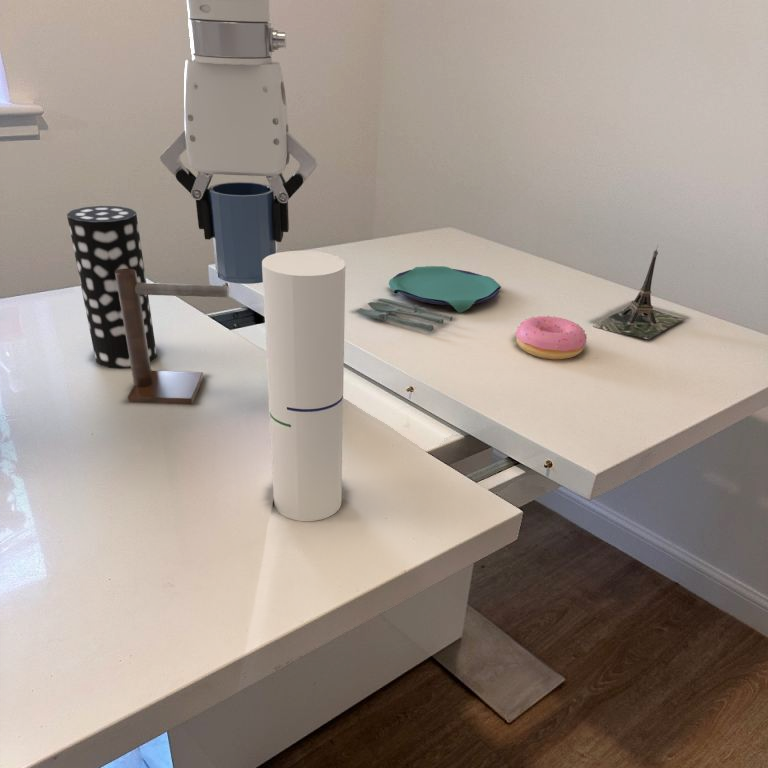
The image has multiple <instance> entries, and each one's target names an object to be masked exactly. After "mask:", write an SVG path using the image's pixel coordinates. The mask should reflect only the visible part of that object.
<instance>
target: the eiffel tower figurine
mask: <svg viewBox="0 0 768 768" xmlns="http://www.w3.org/2000/svg"><path fill="white" fill-rule="evenodd" d="M658 247H659V244H657V245H656V249H655V250H653V253H652V259H651V262H650V265H649V267H648V270H647V274H646V277H645V279H644V282H643V284H642V286H641V288H640V289H639V292H638V293H637V295H636V297H635V298H634V299H633V300H631V303H630V304H629V305H628V306H627V307H625V308H624V309H623V310H620V311H617V312H616V313H614V314H612V315H610V316H608V317H606V318H604V319H603V320H601V321H600V322H598V323H596V324H595V325H593V326H592V327H594V328H597V329H601V330H604V331H608V332H613V333H616V334H623V335H628V336H633V337H638V338H642V339H645V340H650V339H652V338H653V337H655V336H658V335H659V334H661V333H663V332H664V331H666V330H667V329H669V328H671V327H672V326H674V325H676V324H679V323H681V322H683V321H685V320H686V319H685V318H682V317H680V316H676V315H672V314H670V313H666V312H663V311H660V310H656V309H654V305H652V299H651V294H652V291H651V290H652V283H653V282H652V281H653V275H654V270H655V265H656V260H657V257H658V254H659V251H658Z"/></svg>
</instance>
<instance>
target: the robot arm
mask: <svg viewBox="0 0 768 768" xmlns="http://www.w3.org/2000/svg"><path fill="white" fill-rule="evenodd" d="M186 6H187V17H188V29H189V37H190V38H189V39H190V49H191V58H190V57H189V58H187V59H185V65H184V66H185V67H184V87H183V89H184V90H183V93H184V94H183V97H184V98H183V101H184V102H183V104H184V106H183V107H184V131H183V132H182V133H181V134H180V135H179V136H178V137H177V138H176V139H175V140H174V141H173V142H172V143H171V144H170V145H169V146H168V147H167V148H166V149H165V150H164V151H163V152H162V153H161V155H160V157H159V159H160V161H161V163H162V164H163V165H164V166H165V168H166V169H167V170H168V171H169V172H170V173H171V174H172V175H173V176H174V177H175V179H176V181H177V182H178V183H179V184H180V185H181V186H183V188H184V189H185V190H187V191H188V192H189V193H190V195H191V197H192V199H193V200H195V207H196V216H197V225H198V229H199V230H203V235H204V239H205V240H211V239H213V235H212V224H211V214H210V203H209V193H208V189H209V188H210V186H211V183H212V179H213V177H214V175H227V176H248V177H249V176H252V177H265V178H266V179H267V181H268V184H269V186H271V187H272V189H273V191H274V193H275V201H274V203H273V224H274V241H276V242H277V243H282V241H283V238H284V233H289V230H290V229H289V228H290V224H289V223H290V222H289V221H290V219H289V200H290V199H291V197H292V196H294V194H295V193H297V191H299V189H300V188H301V187H302V186H303V184H304V183H305V181H307V179H308V178H309V177H310V175H311V174H312V173H313V172H314V170H316V168H317V166H318V160H317V159H316V157H314V156H313V155H312V153H310V152H309V151H308V150H307V149H306V148H305V147H304V146H303V145H302V144H301V143H300V142H299V141H298V139H296V138H295V137H294V136H293V135H292V134H291V133H290V129H289V119H288V116H289V115H288V107H287V98H286V89H285V84H284V77H283V72H282V67H281V63H280V62H279V61H272V56H273V53H274V52H275V51H279V49H282V50H283V49H287V34H286V32H285V31H278V29H274V27H272V23H271V22H270V21H271V18H270V17H271V16H270V0H186ZM185 151H186V156H187V161H188V164H189V167H190V168H191V169H193V170H194V171H196V172H197V175H195V174H193V172H192V171H190V169H188V168H187V167H186V166H185V165H184V164H183V162H182V161H181V158H180V157H181V155H182V154H183V153H184V152H185ZM290 156H292V157H293V158H294V159H295V160H296V161H297V162H298V163H299V167H298V168H297V170H296V171H295V172H294V173H293V174H292V175H291V176H290V177H289V178H288V179H287V180H286V178H285V176H284V174H283V172H285V171H286V168H287V165H288V164H289V163H290V159H291V157H290Z"/></svg>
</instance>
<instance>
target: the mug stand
mask: <svg viewBox="0 0 768 768" xmlns="http://www.w3.org/2000/svg"><path fill="white" fill-rule="evenodd" d="M115 276H116V282H117V288H118V293H119V299H120V305H121V311H122V317H123V323H124V329H125V335H126V341H127V346H128V352H129V358H130V364H131V368H130V369H131V374H132V375H131V376H132V381H133V387H132V389H131V390H130V392H129V394H128V395H127V401H128V403H140V404H141V403H143V404H170V405H172V404H175V405H176V404H177V405H193V404H194V401H195V399H196V396H197V394H198V393H199V392H198V391H199V389H200V387H201V384H202V383H203V382H202V381H203V380H204V372H203V371H180V370H179V371H178V370H152V365H151V362H150V359H149V353H148V346H147V340H146V333H145V327H144V320H143V314H142V307H141V301H140V295H148V296H163V297H164V296H165V297H167V296H169V297H190V298H191V297H192V298H193V297H194V298H215V299H216V298H218V299H229V298H230V288H229V286H228V285H215V284H214V285H213V284H211V285H210V284H190V283H188V284H187V283H164V282H163V283H162V282H146V283H140V282H138V281H137V274H136V271H135V270H134V269H119V270H116V271H115Z"/></svg>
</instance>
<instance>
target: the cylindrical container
mask: <svg viewBox="0 0 768 768" xmlns="http://www.w3.org/2000/svg"><path fill="white" fill-rule="evenodd" d="M262 274H263V282H262V291H263V292H262V293H263V311H264V313H263V314H264V331H265V352H266V373H267V393H268V394H267V395H268V411H269V412H268V415H269V416H268V417H269V433H270V434H269V435H270V451H271V454H270V455H271V472H272V473H271V474H272V493H273V494H272V495H273V506H274V509H275V510H276V511H277V512H278V513H279V514H280V515H281V516H283V517H285V518H287V519H290V520H293V521H297V522H315V521H321V520H324V519H327V518H329V517H332V516H333V515H334V514H336V513H337V512H338V511H339V510H340V508H341V506H342V492H343V489H342V488H343V434H344V432H343V430H344V429H343V428H344V378H345V377H344V373H345V372H344V371H345V370H344V369H345V317H346V316H345V315H346V262H345V260H344V259H343V258H341V257H339V256H337V255H335V254H331V253H327V252H321V251H316V250H315V251H314V250H313V251H312V250H289V251H281V252H277V253H276V254H272V255H269V256H267V257H266V258H264V259H263V260H262Z"/></svg>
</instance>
